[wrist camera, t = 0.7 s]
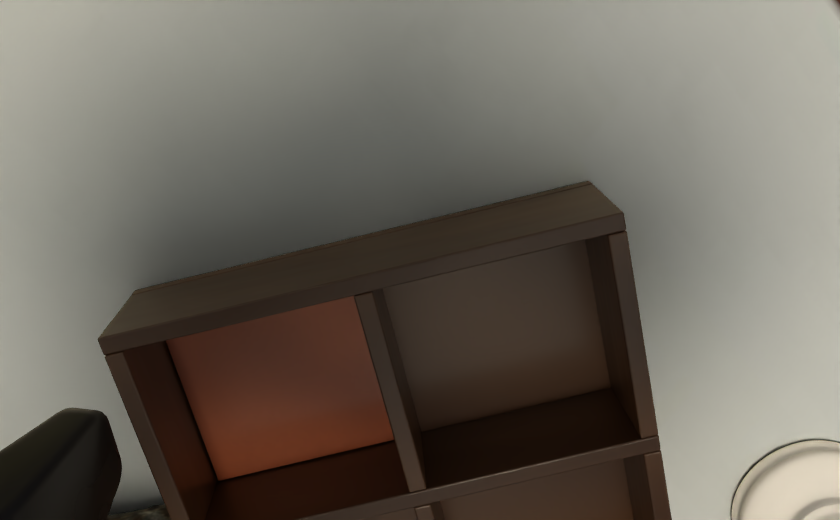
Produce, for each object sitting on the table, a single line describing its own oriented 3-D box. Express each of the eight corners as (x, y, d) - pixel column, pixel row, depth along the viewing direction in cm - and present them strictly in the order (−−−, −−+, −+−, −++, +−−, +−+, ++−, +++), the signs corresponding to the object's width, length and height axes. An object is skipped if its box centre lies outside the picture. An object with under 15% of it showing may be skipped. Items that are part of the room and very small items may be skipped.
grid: (652, 555, 27) (689, 631, 24) (269, 643, 28) (255, 729, 25) (589, 180, 23) (624, 211, 20) (134, 289, 23) (96, 338, 20)
